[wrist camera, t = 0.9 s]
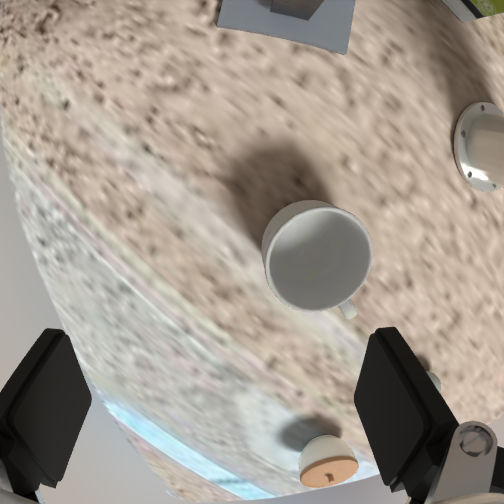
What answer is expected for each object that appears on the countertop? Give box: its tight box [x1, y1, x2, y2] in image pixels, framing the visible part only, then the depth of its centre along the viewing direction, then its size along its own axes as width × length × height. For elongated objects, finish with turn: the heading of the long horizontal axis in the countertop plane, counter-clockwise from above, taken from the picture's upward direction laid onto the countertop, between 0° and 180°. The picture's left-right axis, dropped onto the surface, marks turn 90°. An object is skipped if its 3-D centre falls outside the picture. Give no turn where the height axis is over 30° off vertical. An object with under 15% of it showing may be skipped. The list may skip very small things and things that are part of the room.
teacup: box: [261, 200, 373, 319], centre depth 34 cm, size 14×11×8 cm
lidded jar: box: [299, 435, 359, 488], centre depth 49 cm, size 11×11×9 cm
